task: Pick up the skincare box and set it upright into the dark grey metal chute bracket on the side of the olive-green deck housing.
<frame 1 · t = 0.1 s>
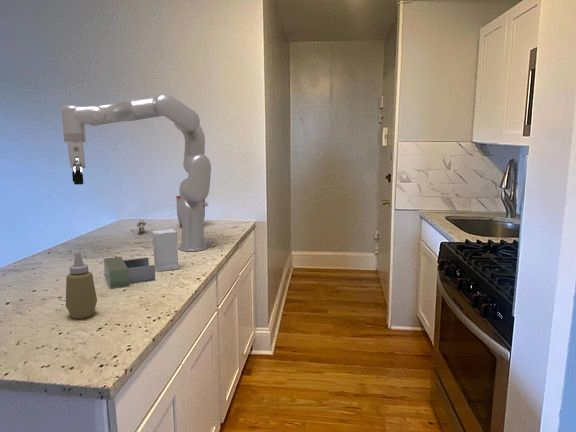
hand: (78, 183, 174), 31 cm above the worktop, tool pointing down, fingers open, 9 cm apart
skincare box: (166, 269, 169), on the worktop
beige brown figurine: (141, 234, 230), on the worktop
citrus juicer: (193, 227, 246), on the worktop
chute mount: (138, 277, 159), on the worktop
squeeze bottle: (82, 315, 126), on the worktop
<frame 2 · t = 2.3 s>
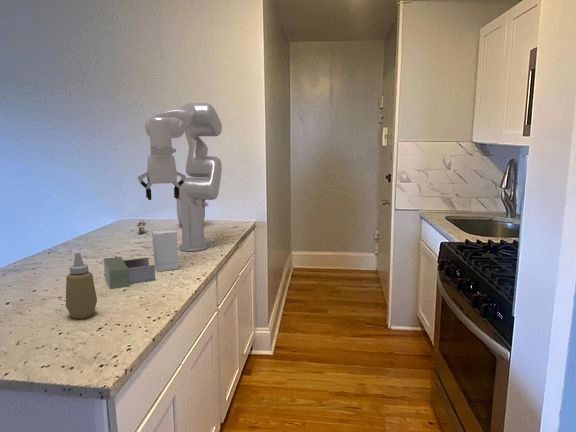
hand: (163, 198, 164), 27 cm above the worktop, tool pointing down, fingers open, 9 cm apart
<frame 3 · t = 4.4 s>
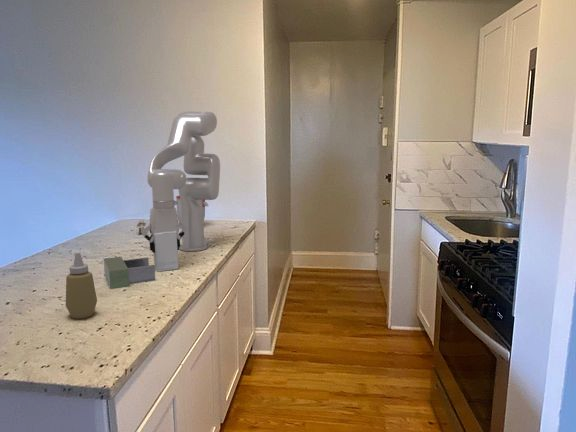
hand: (165, 250, 168), 7 cm above the worktop, tool pointing down, fingers closed on skincare box, 8 cm apart
skincare box: (166, 269, 169), on the worktop, touching gripper
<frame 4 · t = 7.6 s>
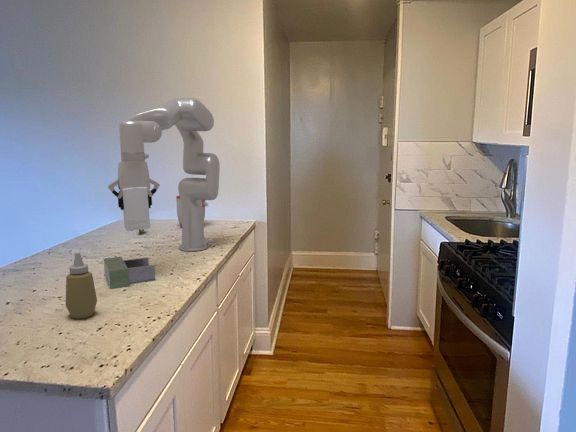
hand: (135, 208, 155), 25 cm above the worktop, tool pointing down, fingers closed on skincare box, 8 cm apart
skincare box: (136, 229, 156), point 17 cm above the worktop, touching gripper
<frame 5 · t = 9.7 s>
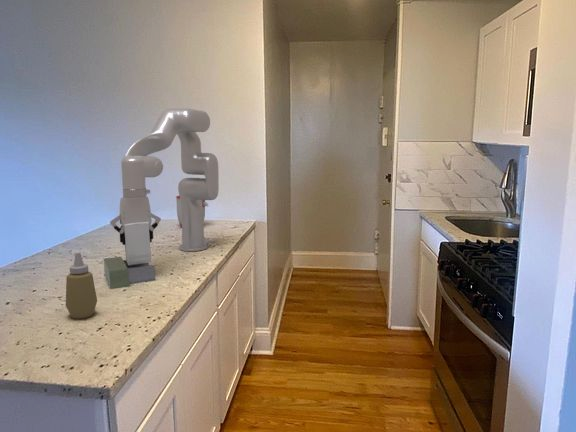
hand: (137, 242, 157), 13 cm above the worktop, tool pointing down, fingers closed on skincare box, 8 cm apart
skincare box: (138, 262, 158), point 5 cm above the worktop, touching gripper
when the fingers open (9 cm above the worktop, at t = 11.2 s): skincare box drops 1 cm, resting on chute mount.
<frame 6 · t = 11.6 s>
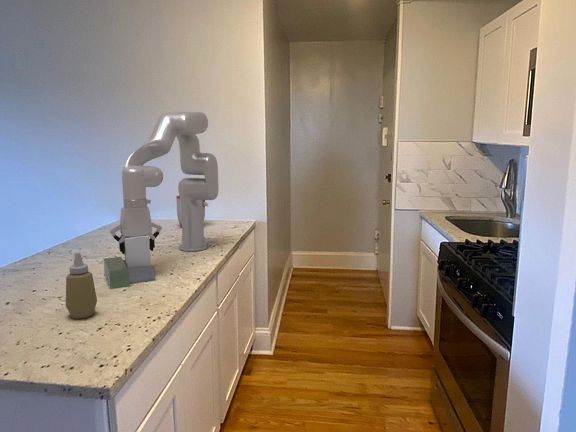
hand: (137, 251, 157), 9 cm above the worktop, tool pointing down, fingers open, 9 cm apart
skincare box: (138, 276, 159), resting on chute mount
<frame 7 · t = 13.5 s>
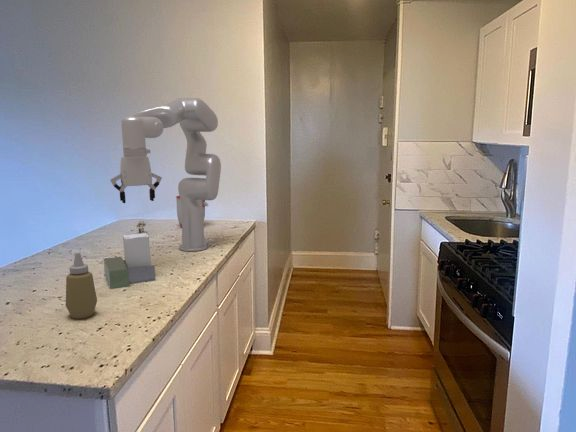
hand: (138, 201, 159), 27 cm above the worktop, tool pointing down, fingers open, 9 cm apart
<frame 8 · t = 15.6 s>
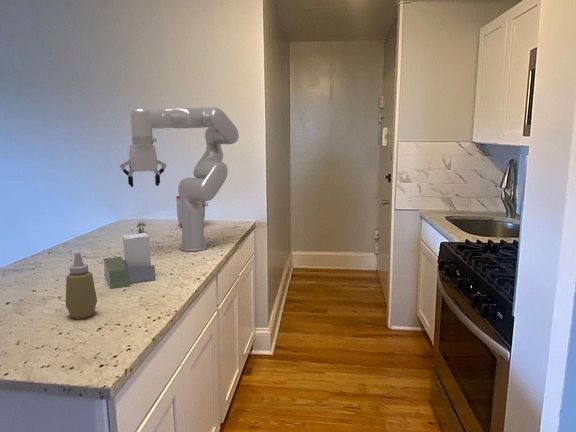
hand: (144, 185, 174), 30 cm above the worktop, tool pointing down, fingers open, 9 cm apart
at the end: skincare box 0.2 cm off-centre on the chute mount, point 0.4 cm above the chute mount's base; skincare box tilted 0°; the gripper is holding nothing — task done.
